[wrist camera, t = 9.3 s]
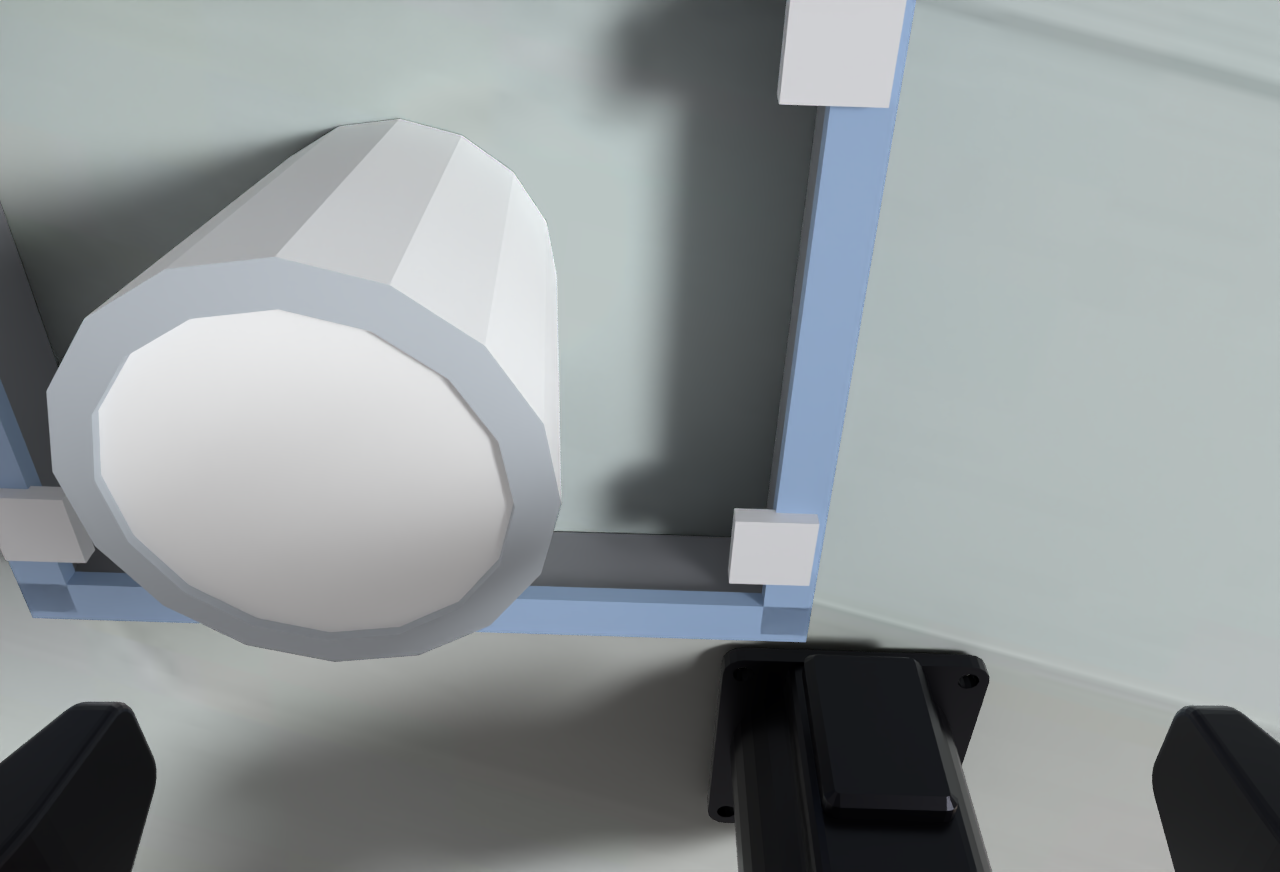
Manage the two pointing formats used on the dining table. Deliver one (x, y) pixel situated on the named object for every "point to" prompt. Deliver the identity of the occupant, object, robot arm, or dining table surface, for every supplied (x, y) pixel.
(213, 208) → the dining table surface
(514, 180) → the light grey cup
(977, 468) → the dining table surface
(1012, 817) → the dining table surface
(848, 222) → the two-slot open tray
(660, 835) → the dining table surface
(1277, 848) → the robot arm
